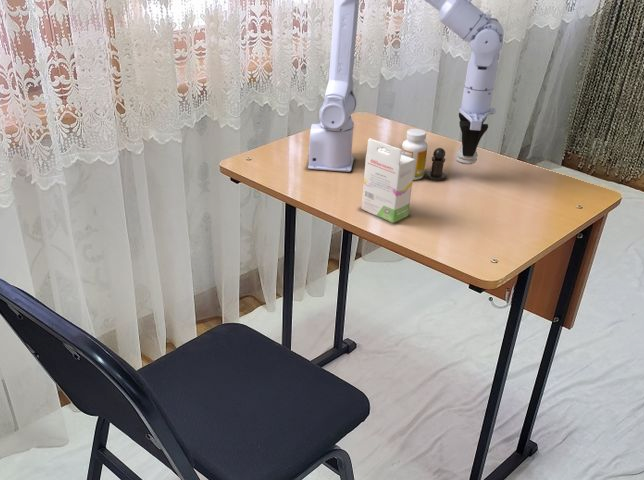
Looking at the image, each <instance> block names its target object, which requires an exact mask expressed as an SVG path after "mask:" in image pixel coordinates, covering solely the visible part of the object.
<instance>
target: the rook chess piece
mask: <svg viewBox="0 0 644 480" xmlns="http://www.w3.org/2000/svg"><path fill="white" fill-rule="evenodd" d="M478 156H479V154H478V152H477V150H476V151H475V153H474V155H473V156H463V151H462V145H461V146H460V148H459V150H458V151H457V152H456V157H455V159H456V162H458V164H462V165H469V166H470V165H474V164H475V163H476V162H477V161H478Z"/></svg>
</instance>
